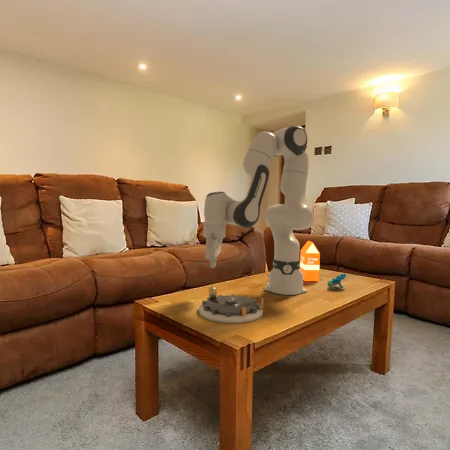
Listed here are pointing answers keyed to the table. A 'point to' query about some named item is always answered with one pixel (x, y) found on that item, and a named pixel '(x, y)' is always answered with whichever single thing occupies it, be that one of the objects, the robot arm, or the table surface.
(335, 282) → the teal green toy figure
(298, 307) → the table surface
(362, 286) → the table surface
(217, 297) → the sprocket
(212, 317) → the sprocket base
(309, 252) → the orange juice
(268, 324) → the table surface
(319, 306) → the table surface
